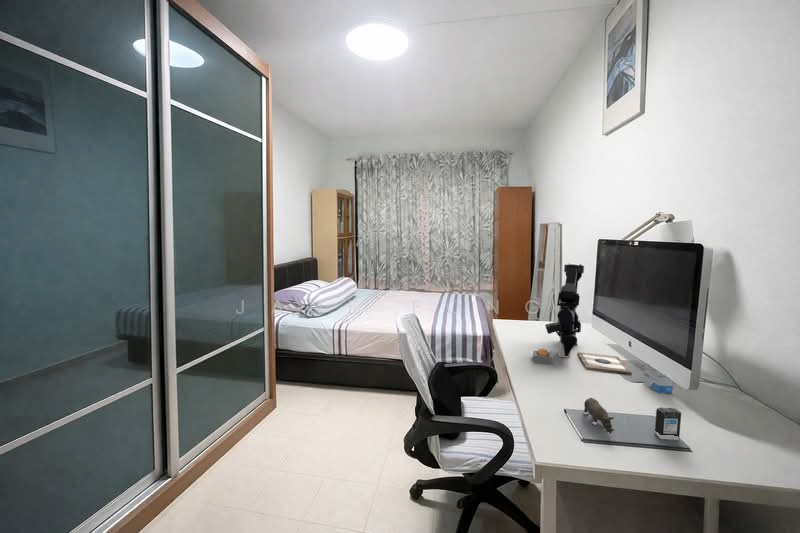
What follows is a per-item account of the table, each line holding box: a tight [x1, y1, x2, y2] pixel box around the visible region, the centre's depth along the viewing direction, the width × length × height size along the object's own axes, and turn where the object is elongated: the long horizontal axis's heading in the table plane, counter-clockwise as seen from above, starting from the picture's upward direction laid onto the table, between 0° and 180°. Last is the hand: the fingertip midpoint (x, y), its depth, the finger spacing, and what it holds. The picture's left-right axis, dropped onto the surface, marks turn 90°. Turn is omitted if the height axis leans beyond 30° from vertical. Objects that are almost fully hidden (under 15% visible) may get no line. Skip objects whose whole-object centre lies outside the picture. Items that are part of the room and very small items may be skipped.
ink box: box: [642, 362, 674, 394], centre depth 123 cm, size 9×5×12 cm, turn 179°
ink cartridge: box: [654, 407, 682, 438], centre depth 93 cm, size 5×2×8 cm, turn 87°
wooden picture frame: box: [577, 351, 633, 375], centre depth 146 cm, size 18×16×1 cm
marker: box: [558, 340, 571, 359], centre depth 154 cm, size 4×4×7 cm
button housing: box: [532, 350, 553, 366], centre depth 148 cm, size 7×7×3 cm
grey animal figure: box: [583, 397, 615, 434], centre depth 99 cm, size 4×14×6 cm, turn 177°
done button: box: [537, 348, 549, 356], centre depth 148 cm, size 4×4×3 cm
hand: (564, 352), depth 155 cm, fingers open, 9 cm apart
